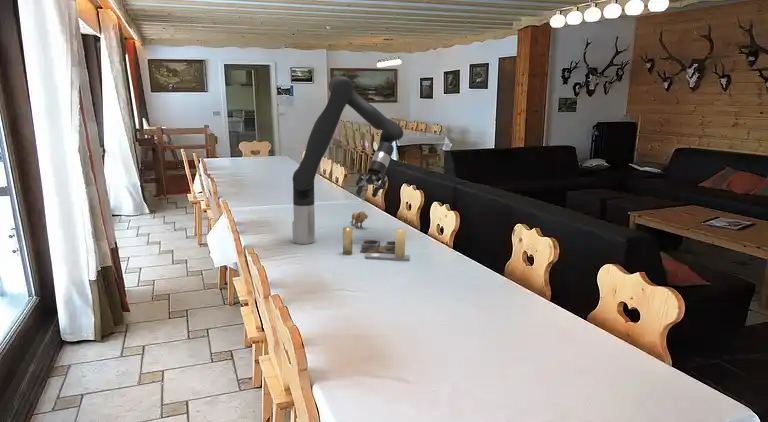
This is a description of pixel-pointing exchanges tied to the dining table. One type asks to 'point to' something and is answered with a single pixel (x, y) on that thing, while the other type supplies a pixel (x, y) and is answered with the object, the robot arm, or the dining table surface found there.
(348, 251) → the brass pin
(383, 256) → the plate
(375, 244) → the double bowl tray
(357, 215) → the lion figurine
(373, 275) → the dining table surface
